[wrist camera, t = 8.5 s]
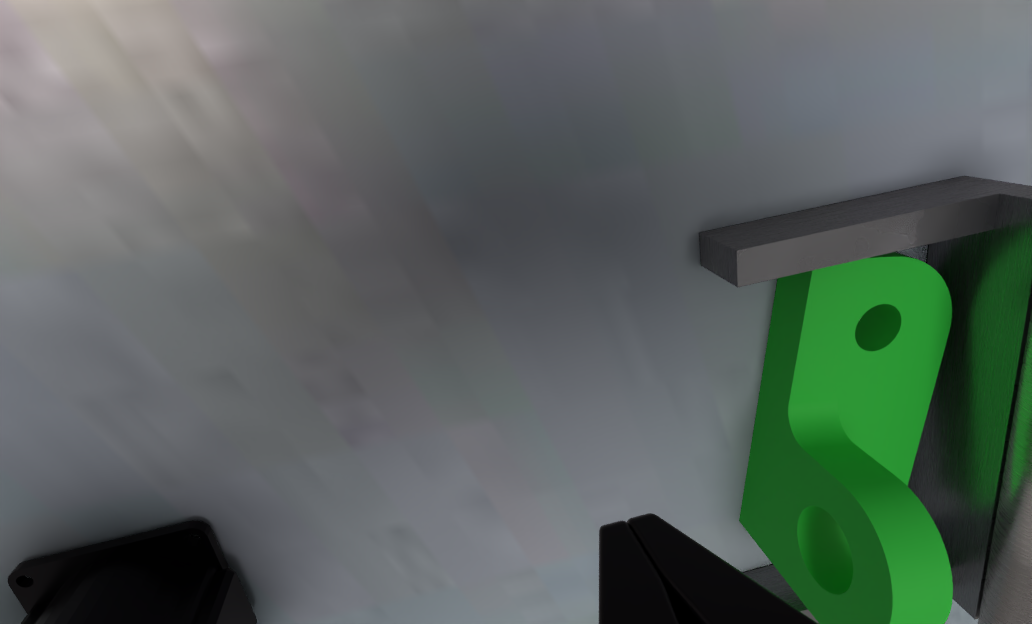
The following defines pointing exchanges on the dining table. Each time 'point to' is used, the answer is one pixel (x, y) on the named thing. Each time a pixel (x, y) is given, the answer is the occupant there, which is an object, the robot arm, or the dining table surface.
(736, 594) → the robot arm
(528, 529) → the dining table surface
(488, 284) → the dining table surface
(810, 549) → the mechanical part
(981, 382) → the bracket
